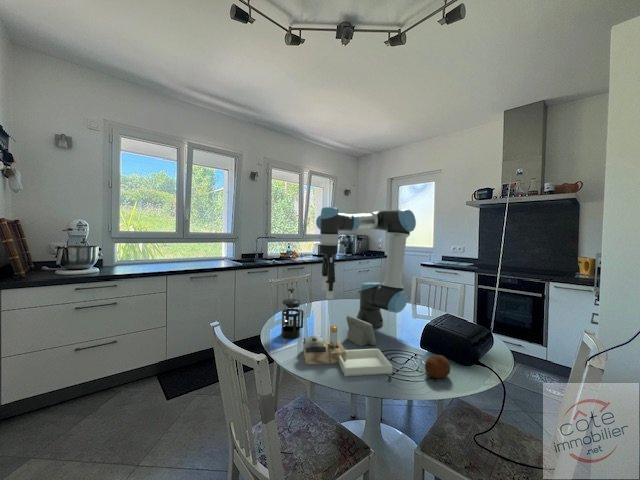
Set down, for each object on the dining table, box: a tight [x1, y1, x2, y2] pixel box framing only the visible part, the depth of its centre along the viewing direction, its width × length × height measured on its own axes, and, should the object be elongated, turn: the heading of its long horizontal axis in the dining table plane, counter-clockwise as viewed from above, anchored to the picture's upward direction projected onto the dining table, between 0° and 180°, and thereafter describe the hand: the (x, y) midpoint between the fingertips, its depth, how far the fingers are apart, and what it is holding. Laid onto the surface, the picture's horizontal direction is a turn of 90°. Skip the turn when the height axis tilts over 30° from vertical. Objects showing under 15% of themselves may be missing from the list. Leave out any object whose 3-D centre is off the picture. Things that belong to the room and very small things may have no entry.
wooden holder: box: [302, 335, 346, 365], centre depth 109 cm, size 16×12×8 cm
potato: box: [424, 354, 451, 379], centre depth 97 cm, size 8×11×8 cm
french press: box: [280, 288, 304, 340], centre depth 130 cm, size 12×9×23 cm
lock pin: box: [329, 325, 338, 349], centre depth 110 cm, size 3×3×12 cm
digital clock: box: [345, 315, 377, 347], centre depth 125 cm, size 16×9×11 cm, turn 26°
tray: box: [338, 348, 394, 378], centre depth 103 cm, size 18×14×3 cm
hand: (327, 294), depth 111 cm, fingers open, 13 cm apart
